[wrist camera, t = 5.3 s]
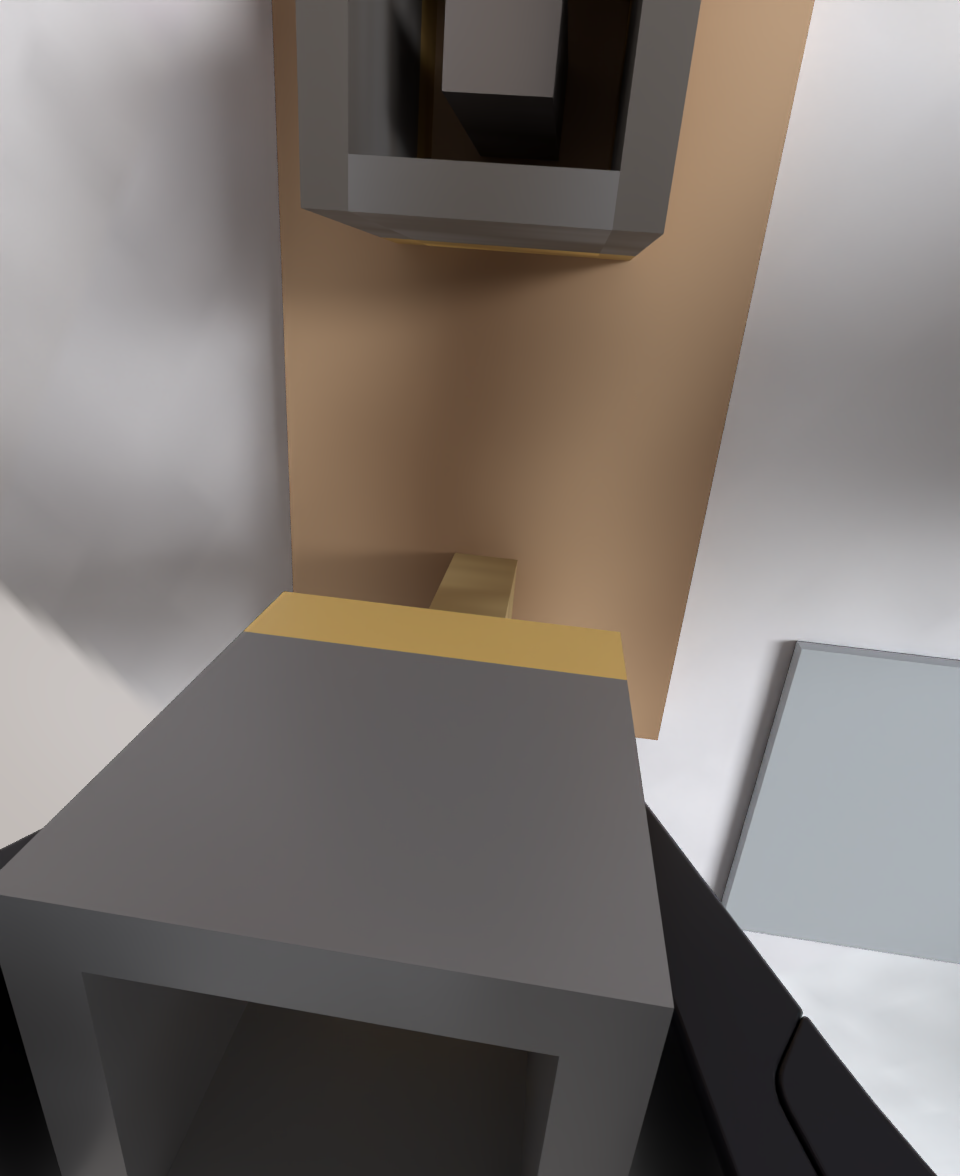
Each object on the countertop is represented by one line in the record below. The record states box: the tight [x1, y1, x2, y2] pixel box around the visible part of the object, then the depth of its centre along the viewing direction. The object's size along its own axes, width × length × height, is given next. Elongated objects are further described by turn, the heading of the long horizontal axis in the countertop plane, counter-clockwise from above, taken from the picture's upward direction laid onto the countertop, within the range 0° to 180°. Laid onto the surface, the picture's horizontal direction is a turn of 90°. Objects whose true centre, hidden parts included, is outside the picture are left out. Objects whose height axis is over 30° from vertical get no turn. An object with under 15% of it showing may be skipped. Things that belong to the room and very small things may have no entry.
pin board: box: [272, 0, 815, 740], centre depth 12 cm, size 9×16×6 cm, turn 176°
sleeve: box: [0, 591, 674, 1176], centre depth 7 cm, size 4×4×5 cm
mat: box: [721, 641, 960, 964], centre depth 17 cm, size 9×9×1 cm
